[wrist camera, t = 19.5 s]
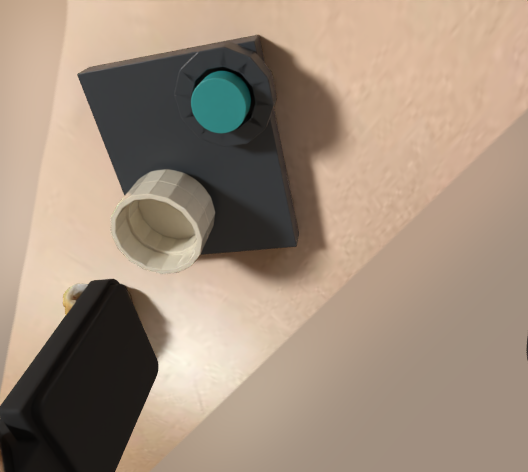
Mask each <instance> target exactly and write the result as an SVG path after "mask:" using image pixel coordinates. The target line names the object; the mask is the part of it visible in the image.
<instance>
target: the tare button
mask: <svg viewBox="0 0 528 472" xmlns="http://www.w3.org/2000/svg"><path fill="white" fill-rule="evenodd" d="M250 105H251V95H250V91H249V89H248V87H247V85H246V83H245V82H244V81H243V80H242V79H241V78H240V77H239V76H237V75H236V74H234V73H231V72H228V71H216V72H213V73H211V74H209V75H208V76H206V77H205V78H204V79H203V80H202V81H201V83H200V84H199V85H198V86H197V87H196V88H195V90H194V92H193V94H192V98H191V107H192V111H193V114H194V116H195V118H196V120H197V121H198V122H199V124H200V125H202V126H203V127H204V128H205V129H207V130H209V131H211V132H214V133H229V132H231V131H233V130H235V129H237V128H238V127H239V126H240V125H241V124H242V122H243V121H244V119H245V117H246V115H247V113H248V111H249V109H250Z"/></svg>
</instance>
